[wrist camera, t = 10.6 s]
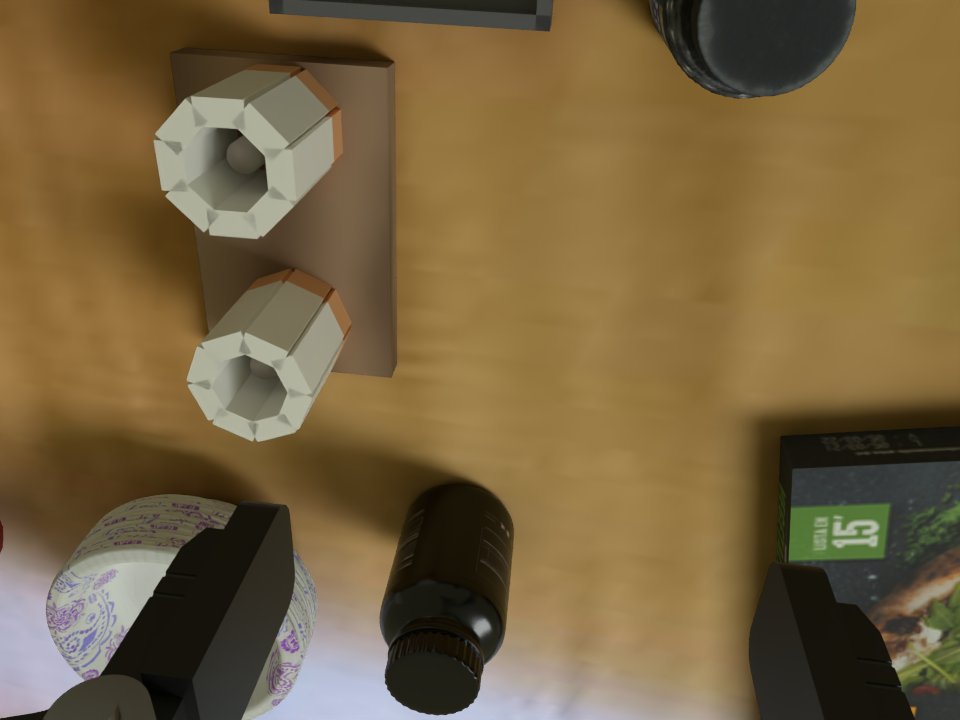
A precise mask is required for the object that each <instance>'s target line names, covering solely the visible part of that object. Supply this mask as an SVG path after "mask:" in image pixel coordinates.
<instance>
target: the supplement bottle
mask: <svg viewBox="0 0 960 720" xmlns="http://www.w3.org/2000/svg"><path fill="white" fill-rule="evenodd" d="M513 540H514V528H513V523H512V519H511V517H510V514H509V513H508V511H507V509H506V508H505V507H504V505H503V504H502V503H501V502H500V501H499V500H498V499H497V498H495V497H494V496H493V495H491V494H490V493H488V492H486V491H484V490H482V489H480V488H477V487H474V486H470V485H465V484H446V485H441V486H437V487H434V488H432V489H429V490H427V491H426V492H424V493H422V494H421V495H420V496H419V497H417V498H416V499H415V500H414V502H413V503H412V504H411V506H410V508H409V509H408V512H407V514H406V517H405V521H404V524H403V527H402V531H401V535H400V539H399V542H398V546H397V550H396V553H395V557H394V561H393V565H392V568H391V572H390V576H389V580H388V583H387V587H386V591H385V594H384V598H383V602H382V606H381V611H380V628H381V632H382V635H383V638H384V640H385V642H386V644H387V646H388V647H389V651H388V662H387V666H386V670H385V684H386V685H387V689H388V690H389V691H390V693H391V695H392V696H393V697H395V699H396V701H398V702H400V703H401V704H402V705H403V706H406V707H408V708H409V709H411V710H416V711H417V712H419V713H426V714H433V715H447V714H454V713H456V712H458V711H462V710H463V709H464V708H467V707H469V705H470V704H472V703H473V702H474V699H476V698H477V696H478V692H479V690H480V683H481V675H482V673H483V668H484V665H485V664H486V663H488V662H489V661H490V660H491V659H492V658H493V657H494V656H495V655H496V653H497V652H498V650H499V649H500V647H501V645H502V643H503V640H504V636H505V630H506V620H507V609H508V598H509V587H510V576H511V564H512V553H513Z"/></svg>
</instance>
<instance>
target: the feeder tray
mask: <svg viewBox="0 0 960 720" xmlns="http://www.w3.org/2000/svg"><path fill="white" fill-rule="evenodd" d="M269 9H270V13H272V14H287V15H303V16H319V17H334V18H350V19H365V20H381V21H396V22H412V23H427V24H443V25H459V26H474V27H490V28H505V29H521V30H536V31H550V28H551V22H552V10H553V0H269Z"/></svg>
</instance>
